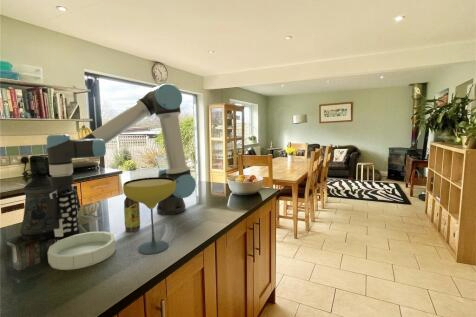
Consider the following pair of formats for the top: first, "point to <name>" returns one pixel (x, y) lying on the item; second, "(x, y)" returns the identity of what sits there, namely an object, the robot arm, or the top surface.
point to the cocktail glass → (150, 203)
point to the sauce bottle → (131, 215)
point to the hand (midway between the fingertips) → (67, 231)
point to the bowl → (81, 250)
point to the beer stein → (37, 210)
